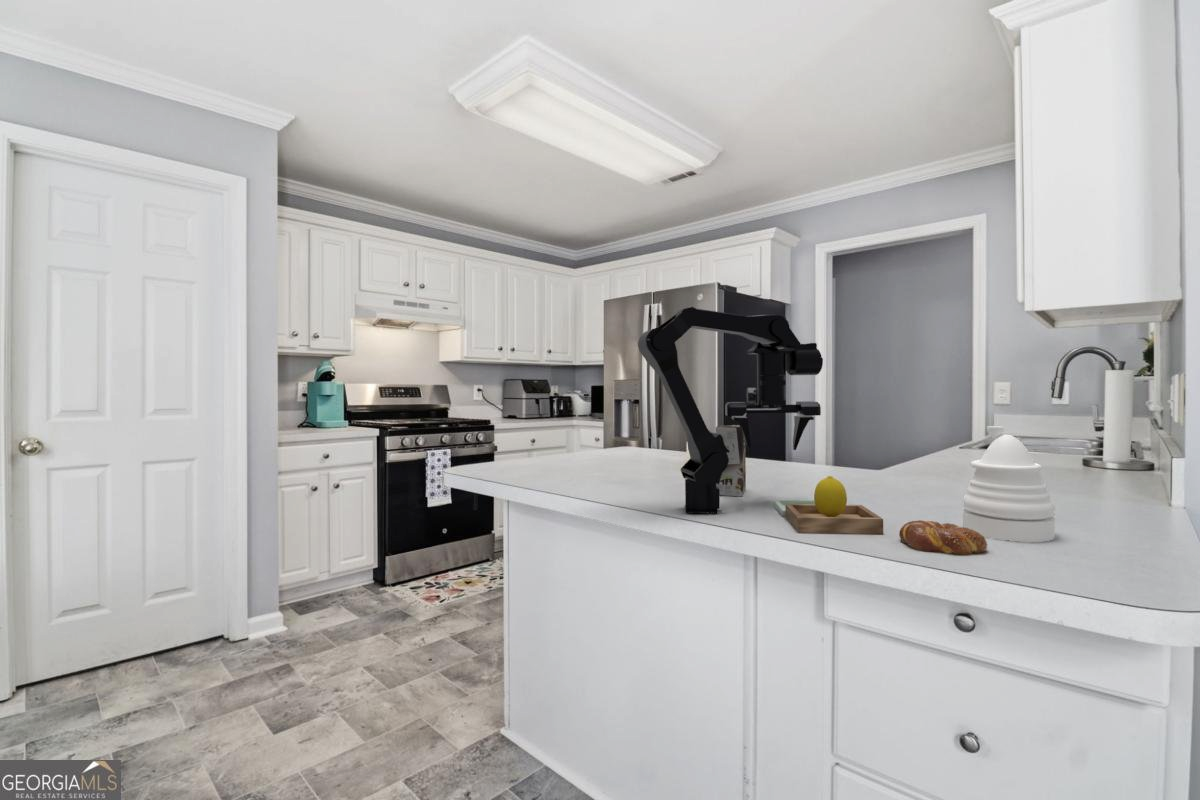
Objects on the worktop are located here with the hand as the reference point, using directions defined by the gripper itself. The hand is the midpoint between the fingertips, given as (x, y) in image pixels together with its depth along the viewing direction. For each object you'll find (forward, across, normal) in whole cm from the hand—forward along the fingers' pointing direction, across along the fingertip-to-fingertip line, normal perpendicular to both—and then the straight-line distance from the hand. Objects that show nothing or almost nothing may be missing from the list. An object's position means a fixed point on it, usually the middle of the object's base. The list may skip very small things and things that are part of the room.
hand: (771, 449), depth 123 cm
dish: (+12, -6, +4) cm, 14 cm away
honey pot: (+12, -36, +19) cm, 43 cm away
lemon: (+11, -8, +16) cm, 21 cm away
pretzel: (+12, -22, +28) cm, 38 cm away
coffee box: (+12, +7, -16) cm, 21 cm away
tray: (+12, -8, +16) cm, 22 cm away
